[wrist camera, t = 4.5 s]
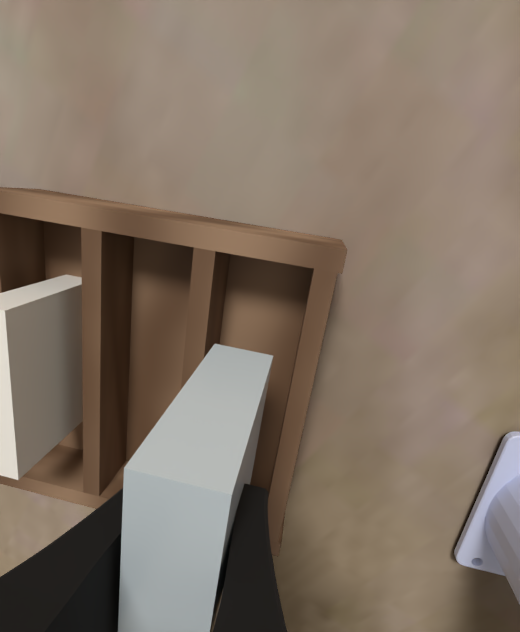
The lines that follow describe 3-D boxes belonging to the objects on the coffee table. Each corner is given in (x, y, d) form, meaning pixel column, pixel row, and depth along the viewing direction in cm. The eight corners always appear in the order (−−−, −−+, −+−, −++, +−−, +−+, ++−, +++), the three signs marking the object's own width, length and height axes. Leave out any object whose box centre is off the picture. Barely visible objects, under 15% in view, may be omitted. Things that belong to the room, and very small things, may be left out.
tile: (94, 279, 17) (4, 310, 12) (94, 410, 19) (18, 480, 14) (66, 274, 17) (-33, 302, 12) (69, 404, 19) (-14, 471, 14)
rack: (341, 239, 15) (347, 249, 12) (285, 497, 20) (278, 556, 17) (38, 189, 17) (-31, 185, 14) (49, 439, 21) (0, 483, 18)
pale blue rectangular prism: (273, 355, 12) (231, 494, 6) (244, 516, 14) (194, 724, 9) (214, 343, 12) (123, 467, 7) (195, 503, 14) (115, 699, 9)
